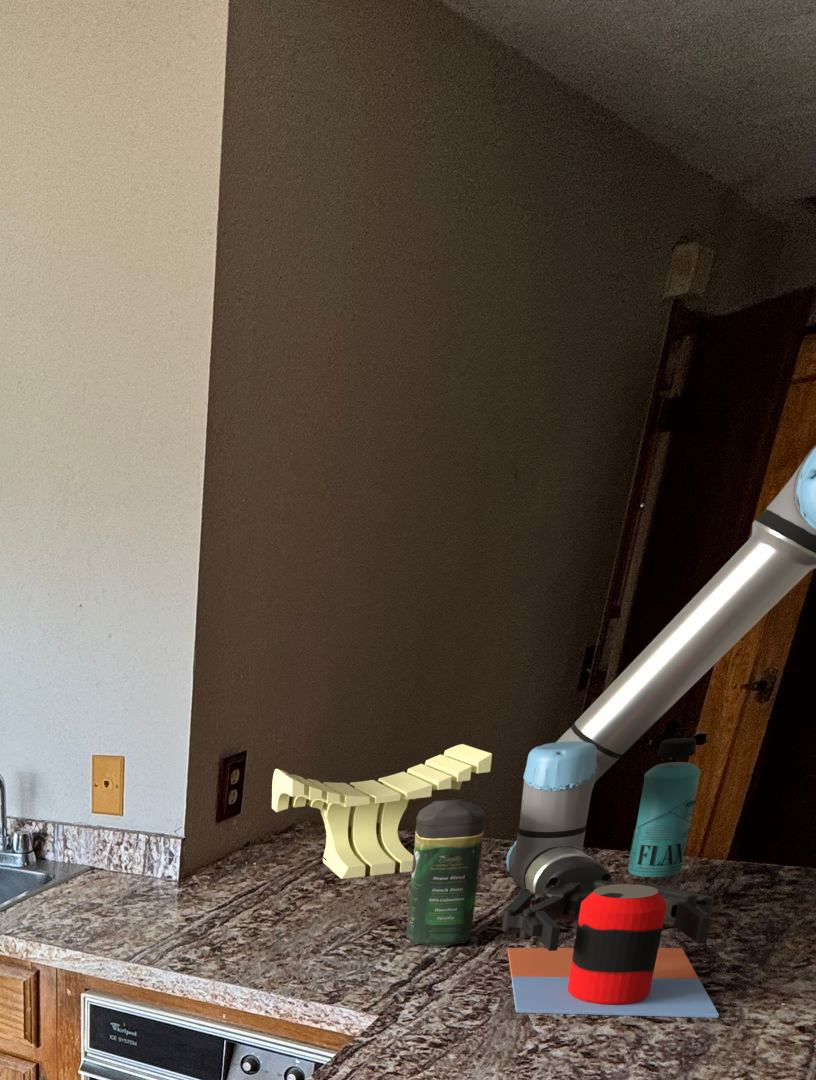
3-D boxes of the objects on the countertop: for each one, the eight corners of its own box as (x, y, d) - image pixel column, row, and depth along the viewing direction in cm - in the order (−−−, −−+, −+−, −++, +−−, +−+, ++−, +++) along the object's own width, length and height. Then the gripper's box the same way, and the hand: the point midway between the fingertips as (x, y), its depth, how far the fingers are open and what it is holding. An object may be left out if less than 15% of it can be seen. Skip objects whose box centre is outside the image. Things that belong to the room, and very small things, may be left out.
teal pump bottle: (623, 887, 145) (649, 745, 136) (624, 875, 150) (648, 737, 141) (681, 887, 141) (710, 741, 133) (680, 875, 146) (708, 733, 137)
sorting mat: (681, 950, 122) (682, 947, 121) (718, 1018, 105) (719, 1014, 105) (507, 950, 130) (508, 947, 130) (515, 1012, 113) (516, 1009, 113)
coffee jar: (474, 948, 133) (490, 807, 125) (407, 949, 136) (419, 812, 128) (467, 926, 141) (482, 792, 133) (404, 928, 144) (415, 798, 136)
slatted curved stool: (445, 843, 180) (455, 741, 172) (479, 864, 166) (492, 753, 158) (270, 863, 186) (272, 765, 179) (289, 884, 172) (292, 779, 165)
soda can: (551, 995, 115) (566, 894, 110) (594, 977, 118) (611, 878, 113) (620, 1011, 109) (640, 905, 104) (664, 992, 111) (686, 888, 106)
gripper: (682, 905, 123) (762, 961, 105) (453, 919, 132) (492, 973, 114) (694, 845, 120) (779, 892, 102) (459, 863, 129) (499, 910, 111)
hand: (628, 935), depth 108 cm, fingers open, 13 cm apart
